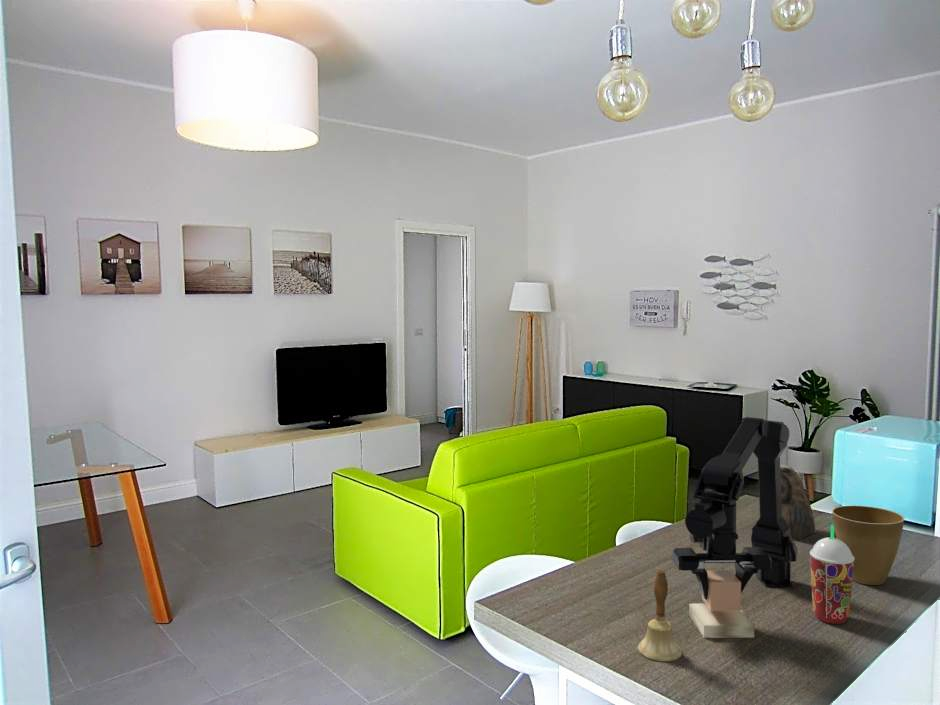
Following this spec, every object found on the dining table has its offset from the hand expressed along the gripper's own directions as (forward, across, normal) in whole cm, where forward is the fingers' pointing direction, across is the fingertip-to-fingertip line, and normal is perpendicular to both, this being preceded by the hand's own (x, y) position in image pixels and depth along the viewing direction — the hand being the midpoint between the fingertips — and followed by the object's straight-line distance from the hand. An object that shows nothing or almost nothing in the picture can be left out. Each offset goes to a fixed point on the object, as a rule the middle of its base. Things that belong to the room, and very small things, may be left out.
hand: (720, 598), depth 142 cm
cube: (+1, 0, 0) cm, 1 cm away
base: (+6, 0, 0) cm, 6 cm away
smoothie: (+6, -24, -3) cm, 25 cm away
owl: (+6, -39, -56) cm, 68 cm away
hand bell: (+6, +15, +10) cm, 19 cm away
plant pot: (+6, -42, -23) cm, 48 cm away
